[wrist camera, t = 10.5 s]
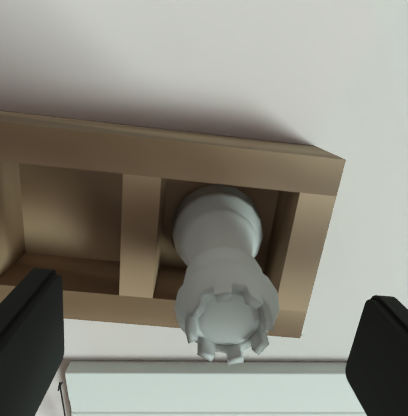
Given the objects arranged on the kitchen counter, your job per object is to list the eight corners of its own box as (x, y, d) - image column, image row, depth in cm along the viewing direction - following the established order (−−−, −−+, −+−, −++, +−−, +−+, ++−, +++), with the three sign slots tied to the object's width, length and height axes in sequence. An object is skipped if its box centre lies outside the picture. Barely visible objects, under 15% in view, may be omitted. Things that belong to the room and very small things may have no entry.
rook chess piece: (218, 162, 16) (235, 226, 8) (277, 224, 17) (340, 331, 9) (154, 222, 17) (117, 328, 9) (214, 277, 18) (224, 412, 10)
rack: (282, 295, 19) (299, 338, 16) (-130, 258, 18) (-205, 295, 14) (315, 146, 16) (345, 159, 13) (-171, 91, 15) (-277, 90, 12)
